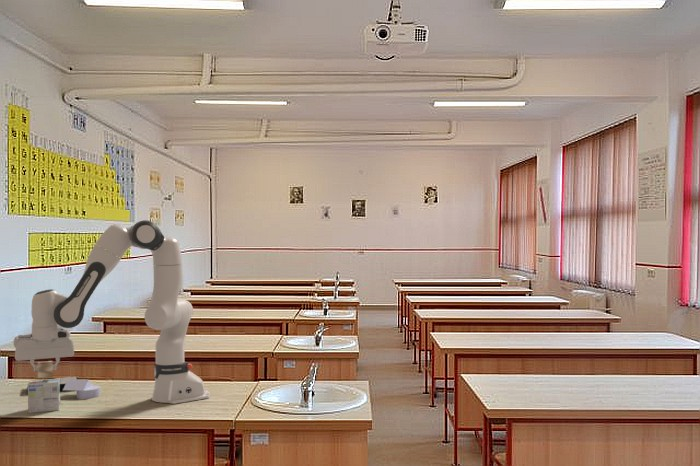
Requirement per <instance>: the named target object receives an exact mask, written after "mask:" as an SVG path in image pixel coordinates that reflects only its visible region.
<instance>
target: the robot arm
mask: <svg viewBox="0 0 700 466" xmlns="http://www.w3.org/2000/svg"><path fill="white" fill-rule="evenodd" d="M132 247H134V248H139V249H141V250H149V251H151V254H152V263H153V264H152V265H153V287H152V288H153V290H152V294H151V299H150V302H149V305H148V307H147V309H146V310H145V312H144V321H145V324H146V325H147V326H148V328H150V329H152V330H155V331H160V334H159V336H158V339H157V340H156V342H155V363H154V368H153V370H154V371H153V372H154V387H153V393H152V397H151V400H152V401H153V402H157V403H161V404H162V403H165V404H181V403H187V402H193V401H198V400H205V399H209V398H210V397H211V392H210V391H209V390H207V389H205V384H204V382H203V379H202V378H201V377H199V376H198V375H196V374H195V373H193V372H192V371H191V369H193V364H192V363H189V362H187V361H185V344H186V343H185V342H186V336H187V332H188V327H189V324H190V321H191V319H192V317H193V316H194V307H193V305H192V303H191V302H190V301H188V300H187V299H184V298H179V294H180V290H181V289H182V287H183V284H184V283H183V282H184V279H183V278H184V276H183V275H184V274H183V258H182V257H183V256H182V250H181V247H180V243H179V241H178V240H177V238H175V237H171V236H164V234H163V233H162V231H161V230H160V227H158V225H157V224H156V223H154V221H151V220H149V219H147V220H146V219H144V220H139V221H137V222H135V224H133V225H132V226H130V227H125V226H124V225H121V224H118V223H117V224H112V225H110V226H108V228H106V230H105V231H104V232H103V233H102V234H101V235H100V237H99V238H98V239H97V240H96V242H95V244H94V245H93V247H92V249H91V250H90V252H89V255H88V256H87V259H86V264H85V268H84V271H83V273H82V276H81V277H80V280H79V281H78V282H77V285H76V286H75V287H74V289H73V290H72V292H71V294H70V295H69V296H68V295H64V294H63V293H60V292H58V291H57V290H56V289H51V288H50V289H45V290H41V291H40V290H39V291H38V292H36V293H34V295H32V300H31V312H30V313H31V317H32V323H31V333H30V334H23V335H22V334H20V335H18V336H16V337H14V338H13V347H14V348H15V350H14V359H15V361H17V362H20V361H29V364H30V365H31V366H32V368H33V372H38V365H35V360H45V359H47V360H48V359H55V361H56V362H55V363H54V364H53V371H56V370H57V369H58V364H59V363H60V361H61V358H68V357H69V358H70V357H73V356H74V355H75V347H74V346H75V345H74V342H73V339H72V337H71V331H70V330H69V329H73V328H75V327H76V326H78V325H80V324H81V322H82V321H83V319H84V315H85V307H86V305H87V303H88V302H89V300H90V298H91V297H92V295H93V294H94V291H96V288H97V287H98V285H99V284H100V283H101V282H102V281H103V280H104V279H105V278H106V277H107V276H108V275H109V274H110V273H111V272H112V271H113V270H114V269H115V268H116V267H117V266H118V265H119V263H120V261H121V260H122V258H123V256H124V255H125V253H126V252H127V251H128V250H129V249H130V248H132ZM59 326H60V327H59Z"/></svg>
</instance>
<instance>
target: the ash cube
mask: <svg viewBox="0 0 700 466" xmlns="http://www.w3.org/2000/svg"><path fill="white" fill-rule="evenodd" d="M53 365H54V364H53V360H48V361H47V360H46V361H45V360H44V361H38V362H37V366H38V371H37V379H41V378H53V374H54V373H53V372H54V370H53Z"/></svg>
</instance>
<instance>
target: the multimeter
mask: <svg viewBox="0 0 700 466" xmlns="http://www.w3.org/2000/svg"><path fill="white" fill-rule="evenodd" d="M58 378H59V379H60V393H64V392H77V390H63V389H64V387H65V384H66V382H67V380H68V379H78V377H77V376H68V377H57V378H53V377H52V379H58ZM48 379H49V378H47V379H42V380H48ZM37 380H38V379H35V380H29V381H28V383H27V385H28V384H29V382H30V381H37ZM26 393H27V394H26V395H27V396H28V386H27V387H26Z"/></svg>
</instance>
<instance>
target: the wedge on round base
mask: <svg viewBox="0 0 700 466" xmlns="http://www.w3.org/2000/svg"><path fill="white" fill-rule="evenodd" d="M63 390H77V391H76V398H77V399H81V400H87V399H89V400H90V399H95V398H98V397H100V396H101V394H102V393H101V391H102V389H101V386H100V385H96V384H93V382H91V380H89V379H79V378H77V379H68V380H67V382H66V384H65V387H64V389H63Z"/></svg>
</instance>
